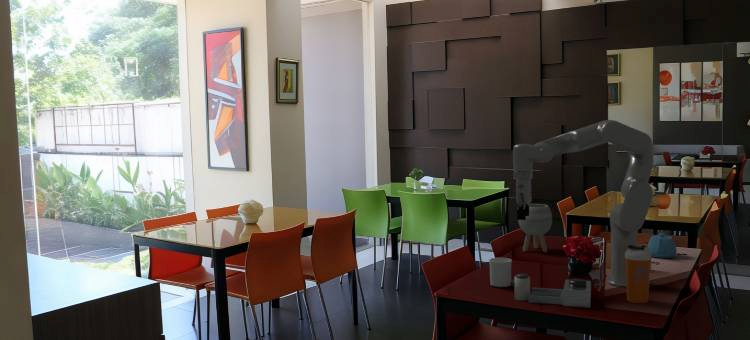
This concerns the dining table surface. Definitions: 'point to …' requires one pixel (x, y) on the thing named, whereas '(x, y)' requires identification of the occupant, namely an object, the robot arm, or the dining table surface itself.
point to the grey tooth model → (536, 225)
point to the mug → (500, 272)
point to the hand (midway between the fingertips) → (523, 217)
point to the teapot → (662, 246)
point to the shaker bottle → (637, 273)
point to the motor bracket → (564, 294)
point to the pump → (521, 287)
